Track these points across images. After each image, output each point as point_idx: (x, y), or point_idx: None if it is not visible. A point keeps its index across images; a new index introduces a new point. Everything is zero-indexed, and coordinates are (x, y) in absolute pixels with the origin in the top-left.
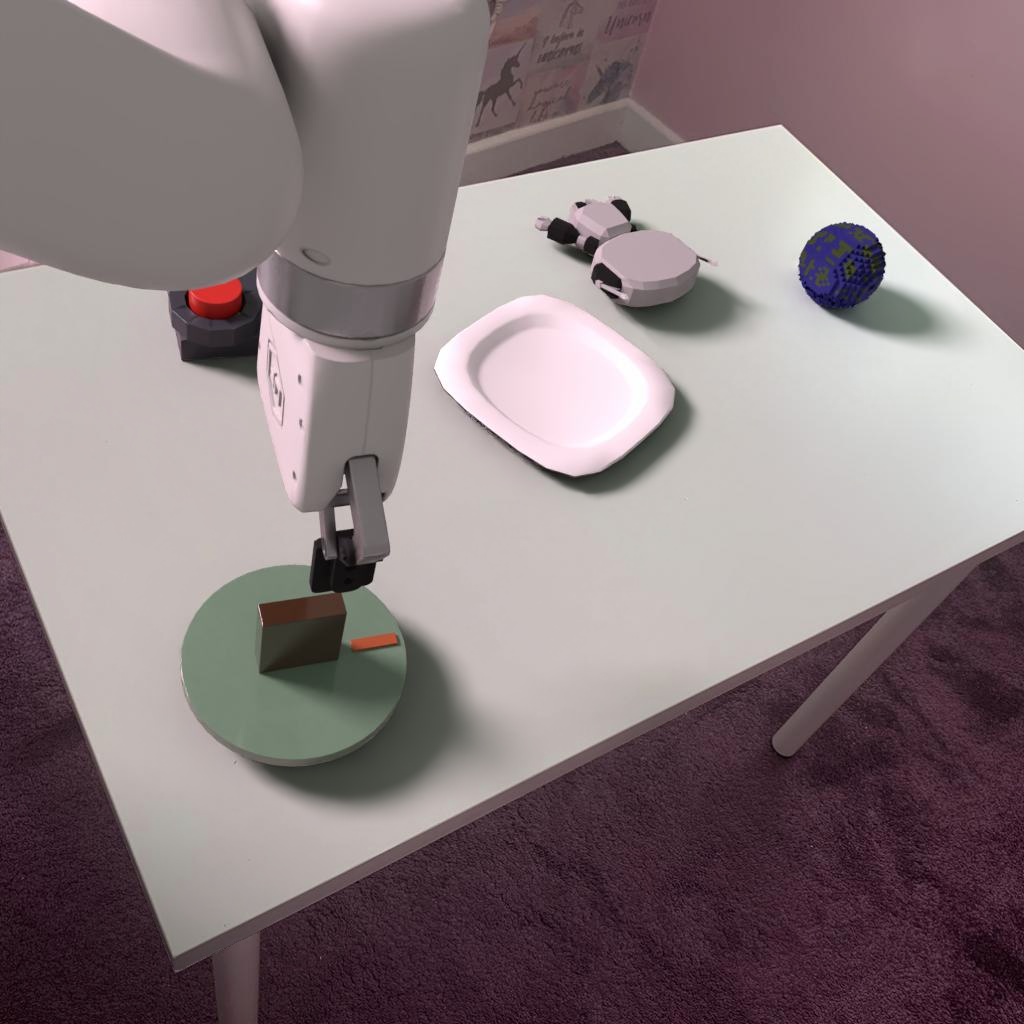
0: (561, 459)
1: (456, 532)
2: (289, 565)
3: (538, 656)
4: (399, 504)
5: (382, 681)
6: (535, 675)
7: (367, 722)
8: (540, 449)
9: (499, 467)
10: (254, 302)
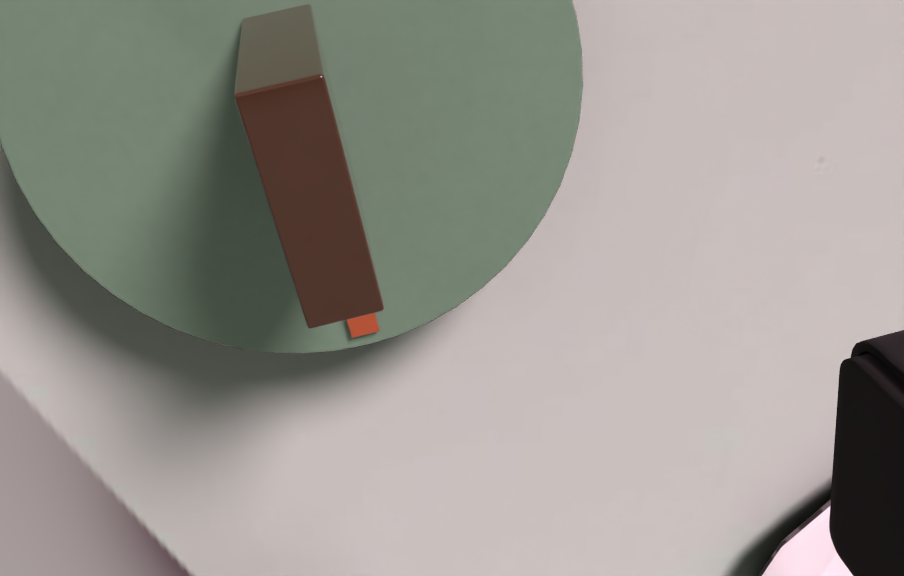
0: (794, 571)
1: (665, 389)
2: (579, 86)
3: (379, 520)
4: (749, 286)
5: (248, 307)
6: (338, 516)
7: (133, 280)
8: (824, 541)
9: (804, 456)
10: None
